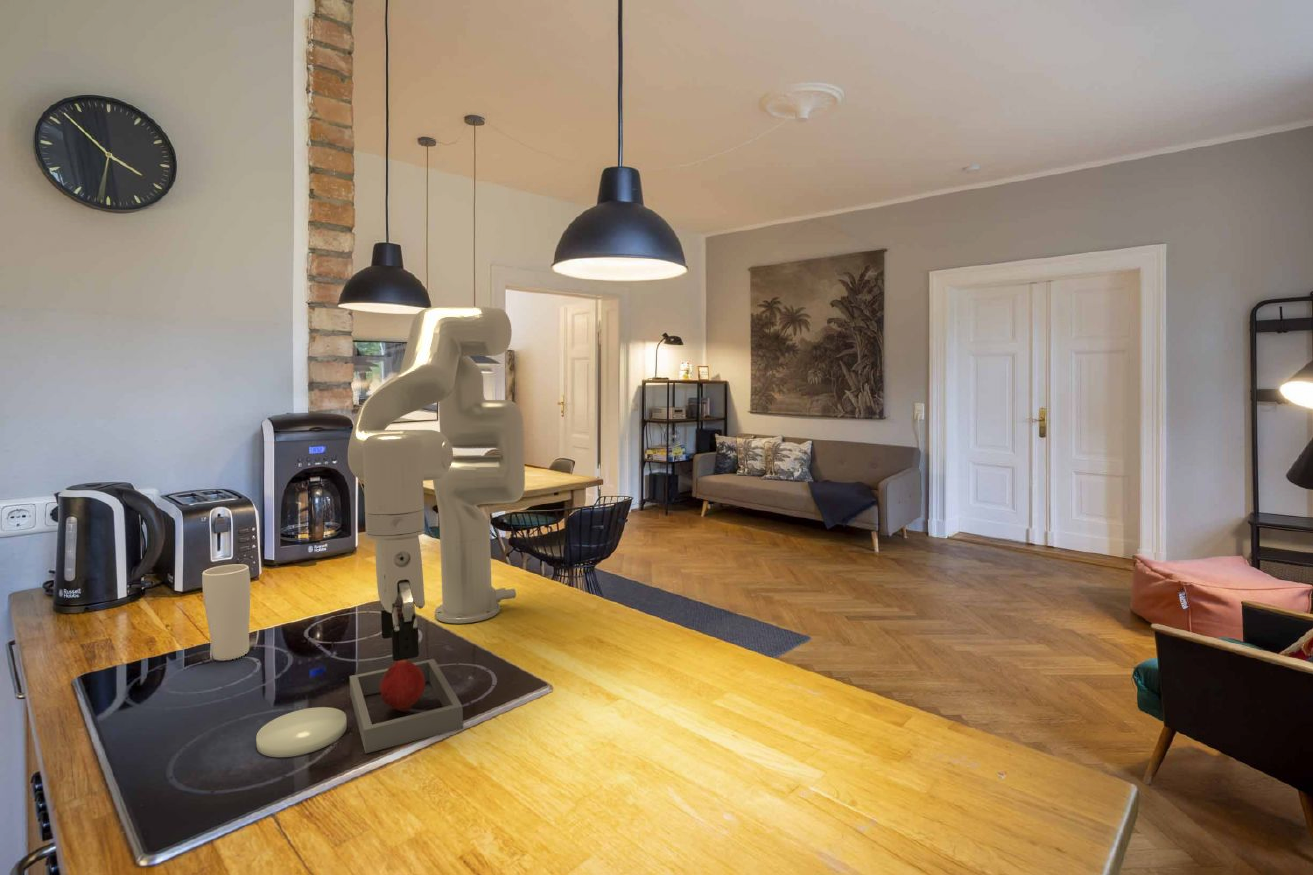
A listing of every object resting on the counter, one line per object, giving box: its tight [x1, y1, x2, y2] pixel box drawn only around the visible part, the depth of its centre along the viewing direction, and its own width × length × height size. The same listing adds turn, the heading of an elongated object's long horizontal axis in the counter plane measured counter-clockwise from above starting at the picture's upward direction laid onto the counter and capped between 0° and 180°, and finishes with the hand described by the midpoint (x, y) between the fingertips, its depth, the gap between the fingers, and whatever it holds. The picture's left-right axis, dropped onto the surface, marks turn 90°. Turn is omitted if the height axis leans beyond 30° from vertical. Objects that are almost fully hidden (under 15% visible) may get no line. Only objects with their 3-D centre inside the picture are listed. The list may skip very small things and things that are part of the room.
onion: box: [380, 659, 426, 713], centre depth 93 cm, size 6×6×8 cm
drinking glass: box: [201, 563, 251, 662], centre depth 113 cm, size 7×7×15 cm
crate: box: [348, 658, 464, 754], centre depth 93 cm, size 12×18×3 cm, turn 30°
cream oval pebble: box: [255, 706, 348, 758], centre depth 87 cm, size 10×10×1 cm
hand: (399, 646), depth 92 cm, fingers open, 9 cm apart
